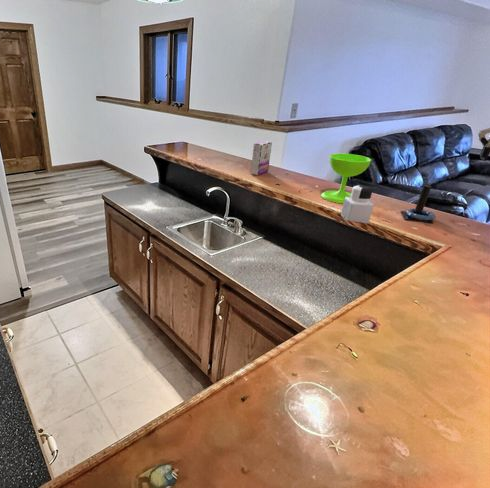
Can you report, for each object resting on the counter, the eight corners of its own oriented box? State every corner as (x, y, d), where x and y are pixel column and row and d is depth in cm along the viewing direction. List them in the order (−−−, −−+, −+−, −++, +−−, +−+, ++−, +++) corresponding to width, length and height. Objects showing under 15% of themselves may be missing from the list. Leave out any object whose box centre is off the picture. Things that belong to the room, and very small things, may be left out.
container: (360, 216, 136) (369, 184, 131) (368, 224, 130) (378, 190, 124) (340, 215, 137) (348, 183, 131) (347, 223, 130) (356, 189, 124)
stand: (426, 217, 137) (438, 184, 131) (431, 226, 129) (445, 191, 123) (399, 214, 140) (410, 181, 134) (404, 222, 132) (416, 187, 126)
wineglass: (339, 190, 166) (349, 152, 157) (368, 201, 152) (380, 160, 144) (313, 194, 160) (321, 154, 152) (340, 205, 147) (351, 163, 139)
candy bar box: (260, 170, 197) (264, 140, 190) (268, 172, 194) (272, 142, 187) (249, 174, 190) (253, 143, 183) (257, 175, 187) (262, 144, 179)
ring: (430, 214, 136) (432, 210, 135) (437, 222, 128) (438, 218, 127) (403, 210, 139) (405, 206, 138) (408, 218, 131) (409, 214, 130)
